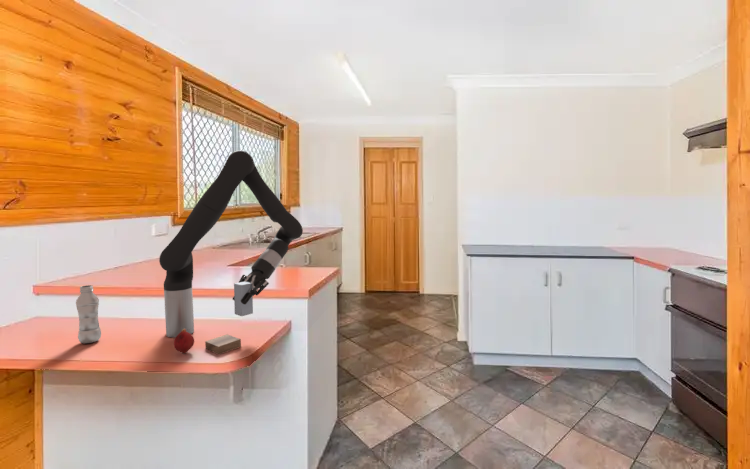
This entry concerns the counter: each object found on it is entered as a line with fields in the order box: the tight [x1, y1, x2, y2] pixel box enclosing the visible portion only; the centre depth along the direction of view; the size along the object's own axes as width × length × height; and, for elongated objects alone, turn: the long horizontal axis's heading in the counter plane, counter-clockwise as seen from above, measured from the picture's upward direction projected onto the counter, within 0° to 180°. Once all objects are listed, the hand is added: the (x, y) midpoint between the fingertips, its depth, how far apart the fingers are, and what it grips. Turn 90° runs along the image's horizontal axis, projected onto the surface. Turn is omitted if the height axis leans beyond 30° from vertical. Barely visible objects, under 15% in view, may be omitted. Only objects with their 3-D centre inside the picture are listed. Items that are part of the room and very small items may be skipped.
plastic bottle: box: [75, 284, 102, 344], centre depth 126 cm, size 6×7×20 cm
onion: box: [173, 329, 195, 354], centre depth 116 cm, size 6×6×8 cm
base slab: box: [204, 333, 242, 355], centre depth 121 cm, size 8×8×3 cm
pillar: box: [233, 282, 254, 317], centre depth 128 cm, size 4×4×11 cm
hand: (238, 301), depth 126 cm, fingers closed on pillar, 4 cm apart
